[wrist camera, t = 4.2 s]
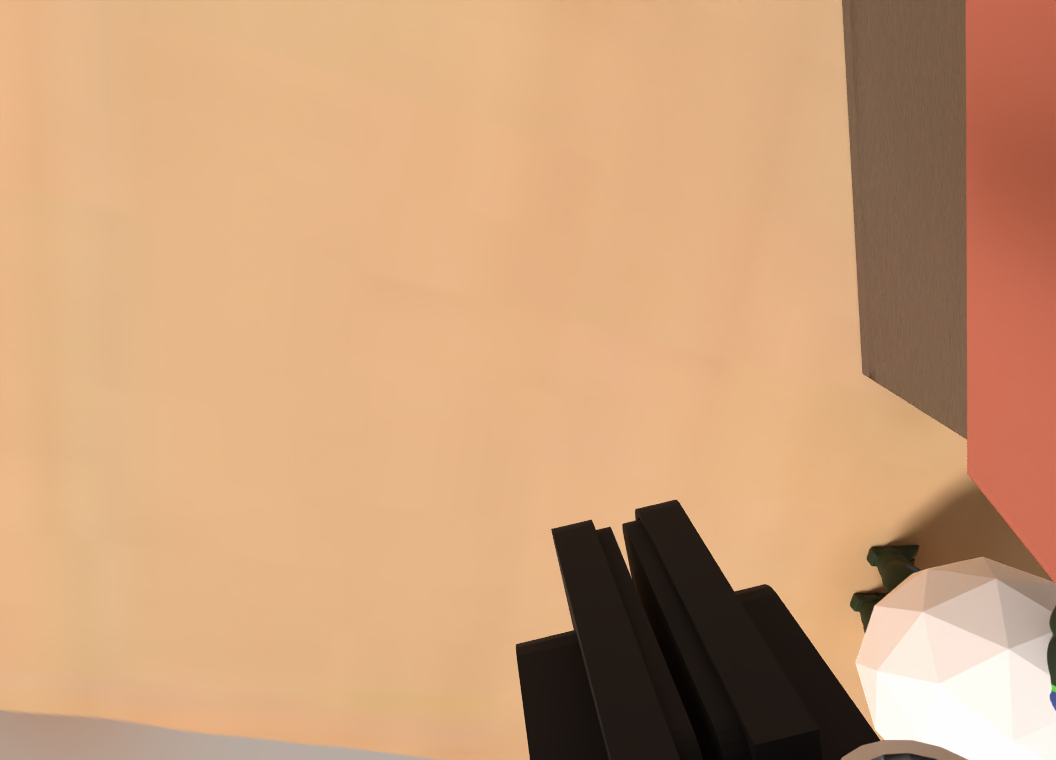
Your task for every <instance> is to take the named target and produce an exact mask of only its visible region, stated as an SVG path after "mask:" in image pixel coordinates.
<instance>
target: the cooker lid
mask: <svg viewBox="0 0 1056 760" xmlns="http://www.w3.org/2000/svg"><path fill="white" fill-rule="evenodd" d="M966 207H967V474H968V475H969V476H970V477H971V479H972V480H973V481H974V482H975V484H976V485H977V486H978V487H979V489H980V490H981V491H982V492H983V494H984V495H985V496H986V497H987V499H988V500H989V501H990V502H991V504H992V505H993V506H994V507H995V509H996V510H997V511H998V512H999V514H1000V515H1001V516H1002V517H1003V519H1004V520H1005V521H1006V522H1007V524H1008V525H1009V526H1010V527H1011V529H1012V530H1013V531H1014V532H1015V534H1016V535H1017V536H1018V537H1019V539H1020V540H1021V541H1022V542H1023V544H1024V545H1025V546H1026V547H1027V549H1028V550H1029V551H1030V553H1031V554H1032V555H1033V556H1034V558H1035V559H1036V560H1037V561H1038V563H1039V564H1040V565H1041V566H1042V568H1043V569H1044V570H1045V571H1046V573H1047V574H1048V575H1049V576H1050V578H1051V579H1052V580H1053V581H1054V583H1055V584H1056V0H966Z"/></svg>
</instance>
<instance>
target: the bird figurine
mask: <svg viewBox="0 0 1056 760" xmlns="http://www.w3.org/2000/svg"><path fill="white" fill-rule="evenodd" d="M918 549H919V546H918V545H915V546H898V547H897V546H893V548H891V547H888V548H885V549H884V548H871V549H870V550H869V553H868V556H867V561H868V562H869V563H870V565H871V566H877V567H878V571H879V573H880V575H881V577H882V581H883V585H884V587H885V589H886V590H887V592H888V593H889V594H882V593H876V594H875V595H866V594H854V595H853V597H852V600H851V602H850V606H851V608H852V609H853V610H854V611H859V612H860V615H861V620H862V623H863V625H864V632H865V636H864V639H863V642H862V645H861V648H860V651H859V654H858V657H857V660H856V662H855V663H856V666H857V670H858V673H859V676H860V680H861V683H862V686H863V690H864V693H865V697H866V700H867V703H868V707H869V710H870V713H871V717H872V720H873V724H874V727H875V730H876V731H877V732H878V733H879V734H880V735H881V736H882V737H883V738H884V739H885V740H914V741H918V742H923V743H927V744H931V745H935V746H940V747H942V748H945V749H947V750H949V751H951V752H953V753H955V754H958V755H960V756H962V757H964V758H966V759H968V760H1056V584H1055V583H1054V582H1053V581H1050V580H1047V579H1044V578H1042V577H1039V576H1036V575H1033V574H1030V573H1027V572H1025V571H1022V570H1019V569H1016V568H1013V567H1011V566H1008V565H1005V564H1002V563H999V562H996V561H994V560H991V559H988V558H985V557H978V558H974V559H969V560H964V561H960V562H955V563H951V564H946V565H941V566H937V567H932V568H928V569H925V570H920V569H918V568H916V567H915V566H914V565H913V564H914V561H915V559H914V557H915V556H916V554H917V552H918Z"/></svg>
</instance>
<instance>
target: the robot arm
mask: <svg viewBox="0 0 1056 760" xmlns="http://www.w3.org/2000/svg"><path fill="white" fill-rule="evenodd" d="M635 518H636V521H632V522H628V523H624V524H623V525H622V526H623V534H624V540H625V545H626V550H627V555H628V561H629V566H630V571H631V576H632V578H631V576H630V573H629V571H628V568H627V566H626V563H625V561H624V559H623V556H622V554H621V551H620V549H619V546H618V544H617V541H616V539H615V536H614V534H613V532H612V529H611V527H607V528H603V529H599V530H596V529H595V527H594V524H593V522H592V520H588V521H584V522H580V523H575V524H571V525H567V526H563V527H559V528H554V529H551V530H552V535H553V539H554V544H555V548H556V553H557V557H558V562H559V566H560V570H561V575H562V579H563V584H564V588H565V593H566V597H567V601H568V606H569V610H570V615H571V619H572V624H573V628H574V631H569V632H565V633H561V634H557V635H553V636H549V637H545V638H540V639H536V640H532V641H528V642H524V643H520V644H516V654H517V663H518V670H519V678H520V686H521V693H522V701H523V709H524V716H525V724H526V732H527V739H528V747H529V755H530V760H968V759H966V758H964V757H962V756H960V755H958V754H955V753H953V752H951V751H949V750H947V749H945V748H942V747H940V746H935V745H931V744H927V743H923V742H918V741H914V740H883V741H880V739H879V738H878V736H877V735H876V733H875V732H874V731H873V729H872V728H871V726H870V725H869V724H868V722H867V721H866V719H865V718H864V716H863V715H862V714H861V712H860V711H859V709H858V708H857V707H856V705H855V704H854V702H853V701H852V700H851V698H850V697H849V695H848V694H847V692H846V691H845V690H844V688H843V687H842V685H841V684H840V683H839V681H838V680H837V678H836V677H835V675H834V674H833V673H832V671H831V670H830V668H829V667H828V666H827V664H826V663H825V661H824V660H823V658H822V657H821V656H820V654H819V653H818V651H817V650H816V649H815V647H814V646H813V644H812V643H811V641H810V640H809V639H808V637H807V636H806V634H805V633H804V632H803V630H802V629H801V627H800V626H799V624H798V623H797V622H796V620H795V619H794V617H793V616H792V615H791V613H790V612H789V610H788V609H787V608H786V606H785V605H784V603H783V602H782V600H781V599H780V598H779V596H778V595H777V593H776V592H775V591H774V590H773V589H772V588H771V587H770V586H768V585H766V584H764V585H760V586H756V587H752V588H748V589H743V590H739V591H735V592H734V590H733V589H732V587H731V586H730V584H729V582H728V581H727V579H726V578H725V576H724V574H723V573H722V571H721V569H720V568H719V566H718V565H717V563H716V561H715V560H714V558H713V556H712V555H711V553H710V552H709V550H708V548H707V547H706V545H705V544H704V542H703V540H702V539H701V537H700V535H699V534H698V532H697V531H696V529H695V527H694V526H693V524H692V522H691V521H690V519H689V518H688V516H687V514H686V513H685V511H684V510H683V508H682V506H681V505H680V503H679V502H678V501H677V500H672V501H668V502H664V503H660V504H656V505H651V506H647V507H643V508H639V509H636V510H635Z"/></svg>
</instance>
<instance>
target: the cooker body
mask: <svg viewBox="0 0 1056 760" xmlns="http://www.w3.org/2000/svg"><path fill="white" fill-rule="evenodd" d="M842 6H843V24H844V42H845V60H846V78H847V97H848V115H849V133H850V151H851V170H852V188H853V206H854V224H855V242H856V261H857V279H858V297H859V315H860V334H861V352H862V370H863V374H864V375H866V376H867V377H869V378H870V379H872V380H873V381H875V382H877V383H878V384H880V385H881V386H883V387H885V388H886V389H888V390H889V391H891V392H892V393H894V394H896V395H897V396H899V397H900V398H902V399H904V400H905V401H907V402H908V403H910V404H912V405H913V406H915V407H916V408H918V409H919V410H921V411H923V412H924V413H926V414H927V415H929V416H931V417H932V418H934V419H935V420H937V421H938V422H940V423H942V424H943V425H945V426H946V427H948V428H950V429H951V430H953V431H954V432H956V433H958V434H959V435H961V436H962V437H964V438H965V439H967V207H966V0H842Z"/></svg>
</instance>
